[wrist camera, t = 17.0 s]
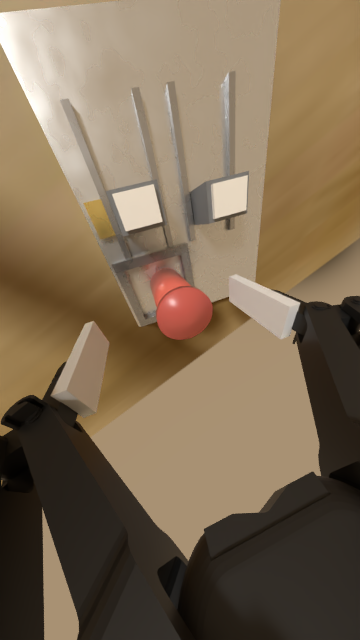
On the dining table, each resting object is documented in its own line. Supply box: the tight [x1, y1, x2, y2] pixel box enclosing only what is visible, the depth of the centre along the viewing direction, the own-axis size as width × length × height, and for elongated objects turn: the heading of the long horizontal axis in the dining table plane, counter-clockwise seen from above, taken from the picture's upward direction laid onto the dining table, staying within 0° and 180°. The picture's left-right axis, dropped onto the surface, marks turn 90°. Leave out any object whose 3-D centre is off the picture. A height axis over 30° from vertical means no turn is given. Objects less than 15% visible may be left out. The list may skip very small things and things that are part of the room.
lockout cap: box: [150, 268, 213, 340], centre depth 16 cm, size 5×5×9 cm
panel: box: [0, 0, 281, 327], centre depth 17 cm, size 24×20×3 cm
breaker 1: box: [105, 179, 167, 237], centre depth 13 cm, size 3×4×4 cm
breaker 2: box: [191, 171, 249, 225], centre depth 14 cm, size 3×4×4 cm
